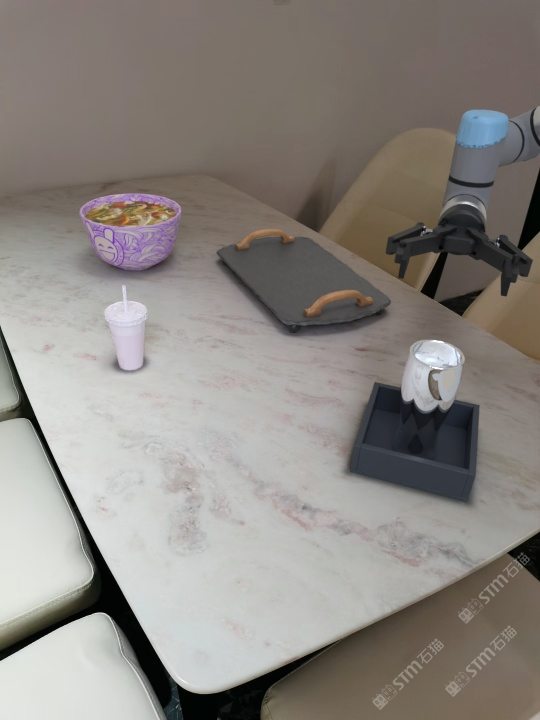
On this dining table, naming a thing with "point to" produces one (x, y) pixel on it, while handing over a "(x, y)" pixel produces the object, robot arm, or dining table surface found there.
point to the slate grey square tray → (438, 476)
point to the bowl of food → (132, 228)
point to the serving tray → (301, 280)
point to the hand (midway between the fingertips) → (453, 278)
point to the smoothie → (127, 331)
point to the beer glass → (427, 396)
